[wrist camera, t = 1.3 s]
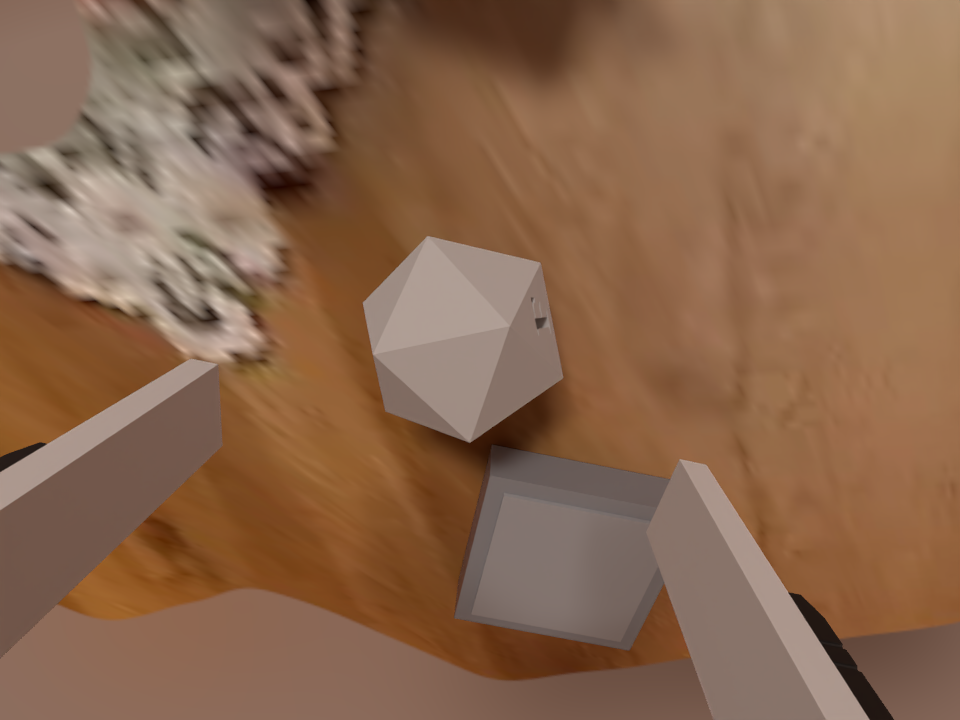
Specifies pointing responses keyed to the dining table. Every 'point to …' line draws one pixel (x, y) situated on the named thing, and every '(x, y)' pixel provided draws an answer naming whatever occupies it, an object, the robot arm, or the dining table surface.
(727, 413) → the dining table surface
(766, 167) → the dining table surface
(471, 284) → the die
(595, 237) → the dining table surface
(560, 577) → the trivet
